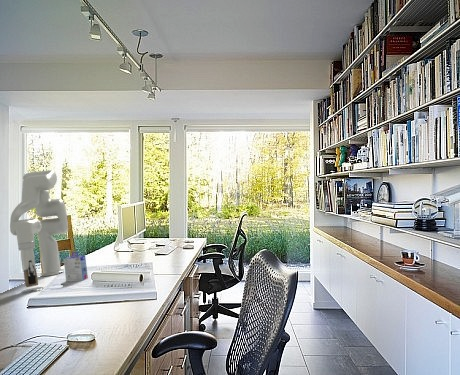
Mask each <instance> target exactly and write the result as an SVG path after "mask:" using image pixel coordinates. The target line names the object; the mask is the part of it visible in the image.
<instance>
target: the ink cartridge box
mask: <svg viewBox="0 0 460 375" xmlns="http://www.w3.org/2000/svg"><path fill="white" fill-rule="evenodd" d="M63 266H64V274H65V281H67V282H66V283H69V282H81V281H84V280H88V279H89V277H88V276H89V275H88V269H87V268H88V266H87V259H86V255H85V254H84V255H79V251H71V256H67V257H65V258H63ZM68 281H69V282H68Z"/></svg>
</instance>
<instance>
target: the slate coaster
mask: <svg viewBox="0 0 460 375" xmlns="http://www.w3.org/2000/svg"><path fill="white" fill-rule="evenodd" d="M43 287H44V286H38V287H29V288H26V289H24V290H21V293H20V294H25V295H26V294H31V293H37V292H39V291H40V290H42V289H44V288H43Z"/></svg>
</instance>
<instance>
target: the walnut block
mask: <svg viewBox="0 0 460 375" xmlns="http://www.w3.org/2000/svg"><path fill="white" fill-rule="evenodd" d="M22 270H23V269H22ZM29 272H30V271H29ZM34 272H35V278H36V283H35V284H30V285H29V281H28V270H26V271H25V270H23V278H24V284H25V285H24V286H25V287H26V288H32V287H34V286H38V285H39V282H38V280H39V279H38V274H37V273H38V272H37V268H36V267H35V269H34Z"/></svg>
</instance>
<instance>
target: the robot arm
mask: <svg viewBox="0 0 460 375" xmlns="http://www.w3.org/2000/svg"><path fill="white" fill-rule="evenodd" d="M22 179H23V180H22V188H21V189H22V190H21V200H20V202H19V203H18V204H17V205H16V206H15V208H14V209H13V211H12V213H11V214H10V223H9V229H10V230H9V231H10V233H11V235H12V236H16V240H17V247H18V248H17V249H18V251H20V258H21V261H20V262H21V269H22V270H25V271H26V270H28V281H29V285H30V284H35V283H36V278H35V272H34V269H35V268H36V258H35V252H34V251H35V250H34V249H35V248H36V242H35V234H37V237H38V243H39V249H40V258H41V266H42V272H41V273H40V276H41V277H51V276H55V275H59V273H60V274H62V273H64V272H65V269H62V267H61V260H60V253H59V244H58V241H57V239H56V238H55V237H54V236H55V235H57V236H58V235H64V234H66V233H68V231H69V220H68V215H67V209H66V204H65V202H64V200H63V199H60V198H55V199H53V198H50V197H51V196H50V191H49V190H52V189H53V188H54V187H55V185H56V184H57V181H58V175H57V173H56V171H54V170H50V169H49V170H42V171H41V170H40V171H39V170H38V171H32V172H30V171H29V172H27V173H24V175H23V176H22ZM34 208H35V209H34ZM32 209H34V210H35V213H36V215H37V217H39V218H44V219H38V218H27V219H25V218H24V219H20V218H21V217H22V216H23V215H24V214H26V213H28V212H29V211H32ZM48 217H54V218H48ZM29 271H30V272H29ZM63 271H64V272H63ZM61 272H62V273H61Z"/></svg>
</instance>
